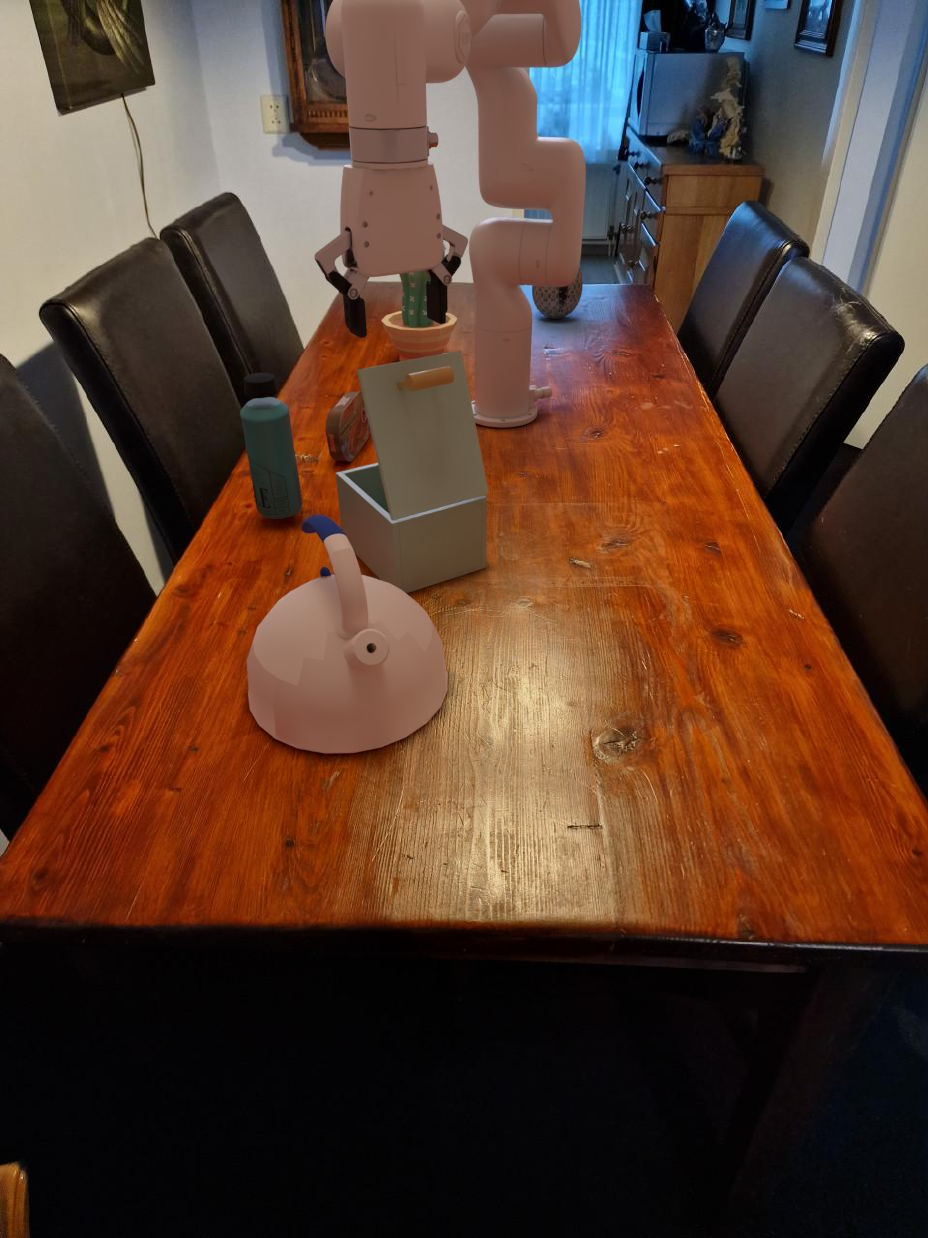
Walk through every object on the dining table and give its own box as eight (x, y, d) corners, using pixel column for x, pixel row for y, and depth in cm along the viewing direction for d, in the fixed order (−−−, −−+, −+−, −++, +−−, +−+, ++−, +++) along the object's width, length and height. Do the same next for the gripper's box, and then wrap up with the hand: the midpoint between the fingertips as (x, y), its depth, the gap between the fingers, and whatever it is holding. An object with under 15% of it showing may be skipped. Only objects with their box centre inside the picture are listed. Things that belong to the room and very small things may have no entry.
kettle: (274, 785, 72) (241, 619, 62) (231, 653, 88) (199, 503, 77) (481, 722, 79) (484, 562, 68) (407, 610, 94) (400, 466, 84)
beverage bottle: (313, 511, 115) (295, 369, 103) (290, 533, 109) (269, 387, 98) (272, 504, 116) (250, 364, 105) (247, 525, 111) (222, 381, 100)
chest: (342, 540, 108) (335, 472, 102) (425, 517, 113) (423, 451, 107) (396, 596, 97) (392, 523, 91) (486, 567, 102) (487, 497, 96)
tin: (345, 470, 125) (340, 418, 121) (326, 469, 126) (320, 416, 121) (373, 433, 137) (370, 384, 133) (355, 431, 138) (351, 382, 133)
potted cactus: (472, 361, 168) (472, 228, 153) (408, 375, 161) (402, 238, 146) (432, 343, 178) (429, 217, 164) (370, 355, 171) (361, 225, 157)
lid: (356, 370, 87) (374, 364, 82) (457, 350, 92) (479, 344, 88) (390, 520, 91) (409, 522, 87) (485, 493, 97) (507, 494, 92)
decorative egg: (526, 312, 198) (529, 245, 190) (574, 310, 200) (578, 244, 191) (535, 325, 189) (538, 256, 180) (585, 323, 190) (590, 254, 181)
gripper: (446, 140, 86) (448, 308, 96) (291, 149, 78) (311, 331, 88) (484, 146, 80) (483, 324, 90) (322, 157, 73) (339, 349, 83)
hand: (398, 327), depth 89 cm, fingers open, 9 cm apart
